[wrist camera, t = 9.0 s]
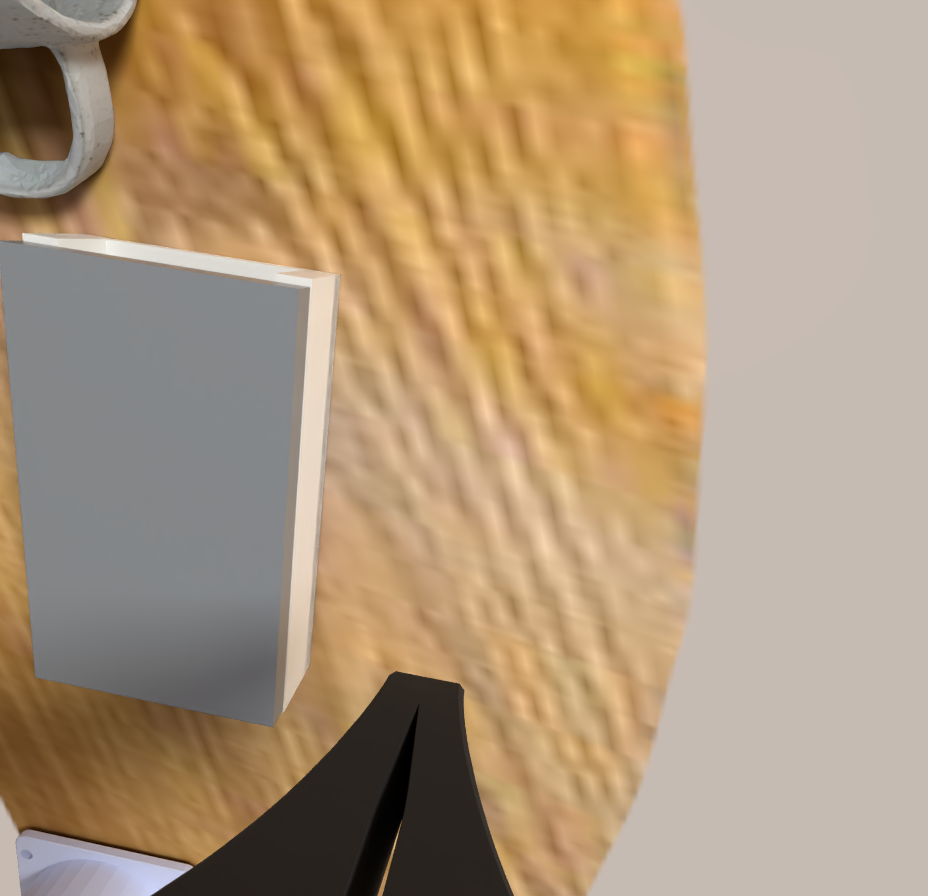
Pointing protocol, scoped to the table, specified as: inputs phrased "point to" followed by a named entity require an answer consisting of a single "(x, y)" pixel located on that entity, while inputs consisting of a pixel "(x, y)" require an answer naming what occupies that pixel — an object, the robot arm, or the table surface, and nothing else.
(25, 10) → the ceramic mug
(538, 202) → the table surface
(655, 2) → the table surface
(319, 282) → the cable duct
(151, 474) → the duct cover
